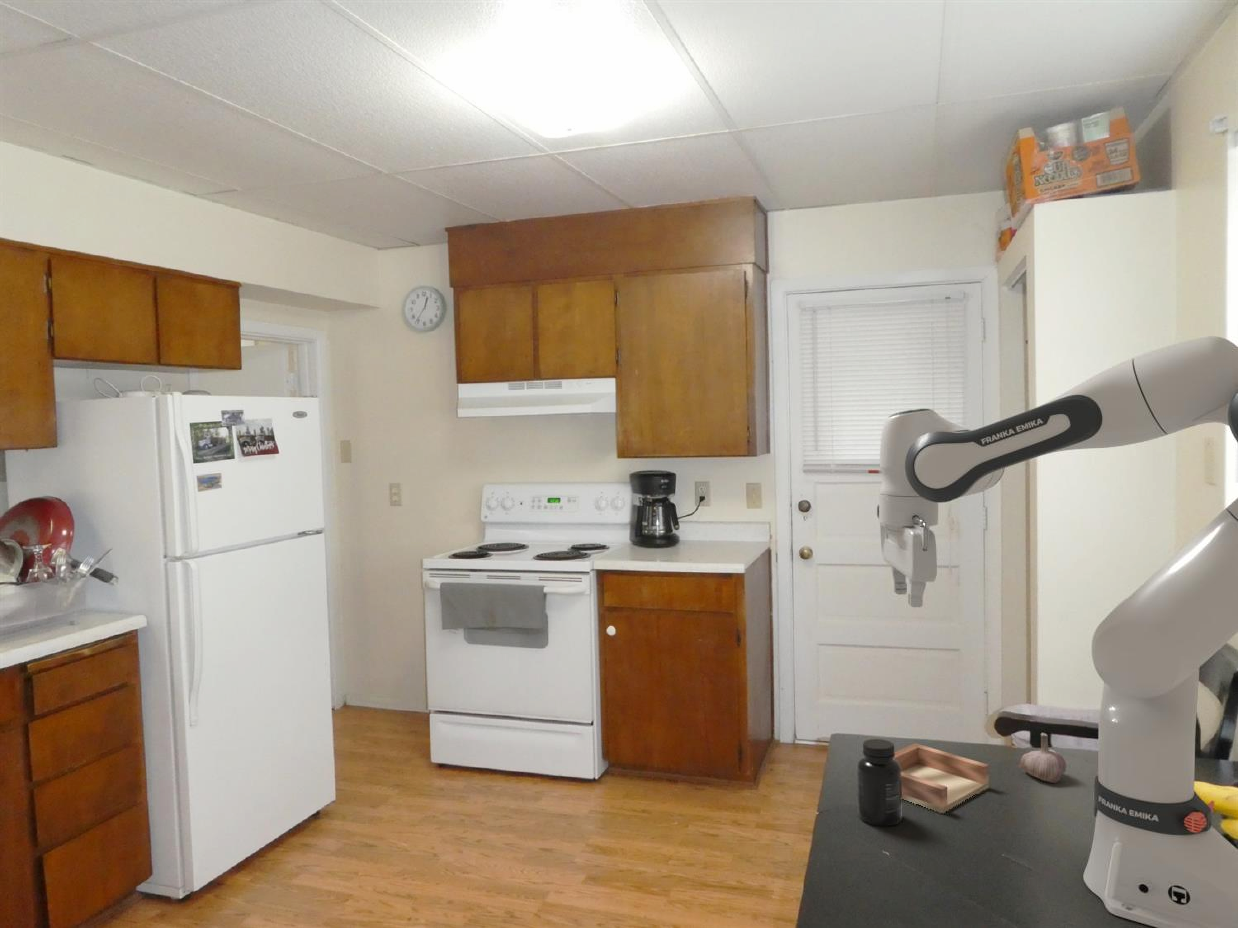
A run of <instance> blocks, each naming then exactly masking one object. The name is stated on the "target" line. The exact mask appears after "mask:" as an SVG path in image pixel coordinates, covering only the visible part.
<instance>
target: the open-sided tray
mask: <svg viewBox="0 0 1238 928" xmlns="http://www.w3.org/2000/svg"><path fill="white" fill-rule="evenodd" d="M894 753H895V757H894V759H895V760H896V761H897V762H898V763H899V764H900V766H901V779H902V799H904V800H907V801H909V802H908V803H910V802H912V803H911V804H913V803H914V804H913V805H916V804H919V805H921V806H923V807H922V808H924V807H926V808H925V809H927V808H928V809H927V810H930V809H932V810H931V811H933V810H934V812H936V811H937V812H936V813H938V812H939V814H941V813H943V814H945V813H946V811H947V812H948V811H950V810H953V807H954V806H955V807H957V806H958V804H959V805H961V804H963V803H964V802H966V801H967V800H966V799H968V800H970V799H971V798H973V797H974V796H973V795H975V794H977V795H978V794H981V793H982V792H984V791H986V790H988V789H989V786H990V785H989V780H990V779H989V777H990V775H989V774H990V773H989V771H990V768H989V767H990V766H989V764H987V763H985V762H980V761H977V760H974V759H970V758H968V757H967V758H966V757H962V756H960V755H957V754H953V753H951V752H950V753H949V752H947V751H943V750H940V749H936V748H933V747H929V746H927V745H923V744H919V743H916V742H914V743H912V744H910V745H908V746H905V747H903V748H900V749H899V750H897V751H894ZM983 790H984V791H983ZM981 791H982V792H981ZM972 796H973V797H972ZM975 796H976V795H975ZM970 797H971V798H970ZM969 798H970V799H969ZM904 800H903V801H904ZM965 800H966V801H965ZM907 801H906V802H907ZM963 801H964V802H963ZM962 802H963V803H962ZM960 803H961V804H960ZM956 805H957V806H956ZM921 806H920V807H921ZM955 807H954V808H955ZM949 809H950V810H949Z"/></svg>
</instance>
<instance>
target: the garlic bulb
mask: <svg viewBox="0 0 1238 928" xmlns="http://www.w3.org/2000/svg"><path fill="white" fill-rule="evenodd" d="M1048 738H1049V735H1048V734H1046V733H1045V732H1041V733H1040V750H1031V751H1029V752H1027V753H1024V754H1023V755H1022V756H1021V758H1020V762H1019V763H1020V768H1021V769H1022V771H1024V772H1025V773H1027V774H1028V775H1030V776H1032V777H1035V778H1037V779H1040V780H1042V781H1044V782H1049V783H1052V784H1057V783H1058V782H1059V781H1060V780H1061V776H1062V775H1063V774H1064V773H1065V772H1066V770H1067V763H1066V760H1065V759H1064V757H1063V756H1062V755H1061V754H1060V753H1059V752H1057V751H1055V750H1054V749H1049V743H1048V741H1049V739H1048Z"/></svg>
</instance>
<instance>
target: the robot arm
mask: <svg viewBox="0 0 1238 928" xmlns="http://www.w3.org/2000/svg"><path fill="white" fill-rule="evenodd" d="M1210 423H1212V424H1213V423H1219V424H1223V425H1226V426H1228V427H1229V430H1230V431H1231V434H1232V435H1233V437H1234V440H1235V441H1236V442H1237V443H1238V346H1237V345H1236V344H1235V343H1233V341H1230V340H1229V339H1226V338H1224V337H1221V336H1213V335H1212V336H1204V337H1199V338H1195V339H1190V340H1187V341H1182V342H1178V343H1174V344H1170V345H1167V346H1163V347H1161V348H1157V349H1154V350H1151V351H1148V352H1145V353H1143V354H1140V355H1138V356H1135V357H1133V358H1130V359H1127V360H1125V361H1122V362H1120V363H1118V364H1116V365H1112V367H1110V368H1107V369H1105V370H1103V371H1101V372H1099V373H1097V374H1096V375H1095V374H1094V376H1092V377H1090V378H1089V379H1086V380H1085V381H1083V382H1081V383H1080V384H1077V385H1075V386H1074V387H1073V388H1070V389H1069V390H1067V391H1065V392H1063V393H1061V394H1059V395H1058V396H1057V397H1054V398H1053V399H1051V400H1049V401H1047V402H1045V403H1043V404H1041V405H1039V406H1037V407H1034V408H1031V409H1029V410H1026V411H1024V412H1021V413H1018V414H1016V415H1012V416H1010V417H1007V418H1004V419H1002V420H998V421H995V422H993V423H990V424H987V425H985V426H982V427H979V428H976V429H973V430H972V429H969V428H967V427H963V426H961V425H958V424H956V423H953V422H951V421H949V420H948V419H946V418H944V417H942V416H941V415H939V414H938V413H937V412H936V411H935V410H933V409H930V408H917V409H910V410H904V411H899V412H895V413H893V414H890V415H889V416H888V417H887V418H886V419H885V421H884V424H883V426H882V430H881V439H880V447H879V469H880V471H881V477H882V478H881V479H882V480H881V485H880V489H879V494H878V495H879V497H878V498H879V503H878V505H877V507H876V518H878V522H879V529H880V530H879V531H880V532H879V533H880V545H881V554H882V558H883V561H884V562H886V563H887V564H889V565H890V566H891V568H890V569H891V575H892V580H893V592H894V593H895V594H896V595H906V594H907V592H908V583H909V593H908V597H907V598H908V601H907V602H908V605H910V607H912V608H922V607H923V601H924V600H923V598H924V593H925V589H926V586H927V583H932V582H935V580H936V578H937V575H938V562H937V561H938V559H937V543H936V542H937V540H936V536H935V533H934V531H933V530H932V529H930V528H931V527H934V526H937V525H938V524H939V504H940V503H941V504H942V503H948V502H951V501H954V500H956V499H958V498H962V497H967V496H970V495H971V496H972V495H975V494H979V493H983V492H985V491H987V490H989V489H991V488H992V487H995V485H996V484H998V482H1000V479H1001V478H1002V476H1003V475H1004V473H1005V469H1006V468H1009V467H1012V466H1015V465H1017V464H1021V463H1023V462H1027V461H1029V460H1032V459H1035V458H1039V457H1041V456H1044V455H1048V454H1052V453H1053V454H1054V453H1058V452H1064V451H1065V452H1066V451H1072V450H1073V451H1074V450H1085V449H1087V450H1088V449H1107V448H1115V447H1116V448H1117V447H1123V446H1130V445H1133V444H1138V443H1144V442H1148V441H1151V440H1156V439H1158V438H1162V437H1165V436H1168V435H1171V434H1175V433H1177V432H1180V431H1182V430H1185V429H1189V428H1191V427H1192V428H1193V427H1195V426H1199V425H1203V424H1210ZM907 579H908V580H909V581H908V583H907V581H906V580H907ZM1237 634H1238V497H1236V499H1235V500H1234V501H1232V502H1231V503H1230V504H1229V505H1228V506H1227V507H1226V508H1225V509H1223V510H1222V511H1221V512H1220V513H1219V514H1218V515H1216V516H1215V518H1213V519H1212V520H1211V521H1210V522H1209V523H1208V524H1207V525H1206V526H1205V527H1203V528H1202V529H1201V530H1200V531H1199V532H1198V533H1197V534H1195V536H1194V537H1192V538H1191V539H1190V540H1189V541H1188V542H1187V543H1185V545H1184V546H1182V547H1181V548H1180V549H1179V550H1178V551H1177V552H1176V553H1175V554H1174V555H1173V556H1172V557H1171V558H1169V559H1168V560H1167V561H1166V562H1165V563H1164V564H1163V565H1162V566H1161V567H1160V568H1159V569H1158V570H1157V571H1155V572H1154V573H1153V574H1152V575H1151V576H1149V578H1147V579H1146V580H1145V582H1144V583H1143V584H1141V585H1140V586H1139V587H1138V588H1137V589H1136V590H1135V591H1134V592H1132V593H1131V594H1130V596H1128V597H1127V598H1125V599H1123V600H1122V601H1121V602H1119V603H1118V604H1117V605H1116V606H1115V607H1114V608H1113V609H1112V611H1110V613H1108V615H1106V617H1105V618H1104V619H1103V620H1102V621H1101V622H1100V623H1099V625H1098V626H1097V627H1096V629H1095V631H1094V633H1093V636H1092V640H1091V657H1092V658H1091V659H1092V663H1093V665H1094V669H1095V671H1096V673H1097V674H1098V676H1099V677H1100V679H1101V680H1102V682H1103V685H1102V686H1103V688H1102V697H1101V704H1100V711H1099V716H1098V738H1097V739H1098V741H1097V742H1098V747H1097V749H1098V751H1097V753H1098V755H1097V757H1098V759H1097V762H1098V763H1097V774H1096V776H1095V778H1094V787H1093V791H1092V792H1093V793H1092V802H1093V803H1092V805H1093V815H1094V817H1095V825H1094V826H1095V827H1094V834H1093V839H1092V844H1091V849H1090V850H1091V851H1090V853H1089V857H1088V861H1087V864H1086V867H1085V870H1084V872H1083V875H1082V876H1083V882H1084V883H1085V885H1086V886H1087V888H1088V889H1089V890H1091V892H1092V893H1094V894H1095V895H1096V896H1097V897H1099V898H1100V900H1101V901H1102V902H1103V904H1104V906H1105V909H1107V911H1108V912H1109V913H1111V914H1113V915H1114V916H1117V917H1120V918H1124V919H1127V920H1130V921H1134V922H1137V923H1141V924H1144V925H1147V926H1151V927H1155V928H1238V848H1237V847H1236V846H1234V845H1233V844H1232V843H1231V842H1230V841H1228V839H1226V838H1225V837H1224V836H1223V835H1222V834H1221V833H1219V832H1218V831H1217V830H1216V829H1215V828H1214V827H1213V826H1212V821H1213V820H1212V818H1213V817H1212V813H1213V812H1214V811H1215V800H1211V801H1210V802H1209V803H1208V804H1207V803H1206V802H1205V801H1204V800H1203V799H1202V798H1201V797H1200V796H1199V795H1198V793H1197V792H1196V791H1195V770H1196V769H1195V765H1196V764H1195V759H1196V756H1195V754H1196V753H1195V752H1196V729H1197V728H1196V725H1197V714H1198V713H1197V711H1198V710H1197V709H1198V700H1199V699H1198V698H1199V680H1200V667H1203V665H1204V664H1205V663H1206V662H1207V661H1209V659H1211V658H1212V656H1214V655H1215V654H1216V653H1217V652H1219V650H1221V648H1223V647H1224V646H1225V645H1226V644H1227V643H1228V642H1229V641H1230V640H1231V639H1233V637H1234V636H1235V635H1237Z"/></svg>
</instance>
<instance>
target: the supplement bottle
mask: <svg viewBox="0 0 1238 928" xmlns="http://www.w3.org/2000/svg"><path fill="white" fill-rule="evenodd" d="M894 752H895V744H894V743H893V742H891V740H886V739H881V738H870V739H866V740H865V741H863V742H862V757H861V758H859V760H858V761H857V764H856V784H857V785H856V786H857V787H856V788H857V790H856V792H857V797H856V798H857V815H858V817H859V818H860V819H861V820H862V821H863V822H865V823H867V824H869V825H872V826H879V827H889V826H896V825H897V824H899V823H900V822H901V821H902V818H903V800H902V779H901V766H900V764H899V763H898V762H897V761H896V760H895V759H894V757H895V753H894Z"/></svg>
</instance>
